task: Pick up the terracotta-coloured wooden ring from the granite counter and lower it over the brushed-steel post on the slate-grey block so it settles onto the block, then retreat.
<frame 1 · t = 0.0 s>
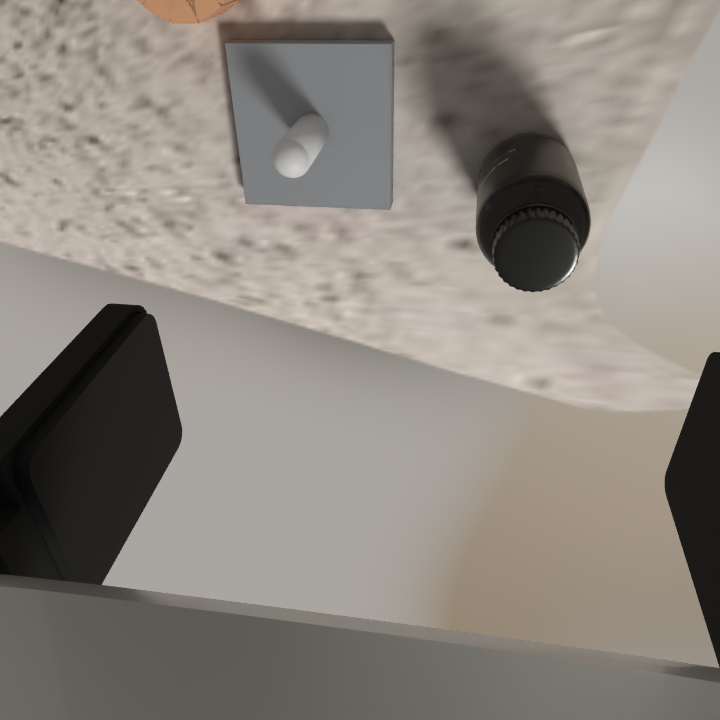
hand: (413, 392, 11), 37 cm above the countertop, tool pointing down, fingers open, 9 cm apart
post block: (316, 125, 45), on the countertop
supplement bottle: (525, 179, 45), on the countertop
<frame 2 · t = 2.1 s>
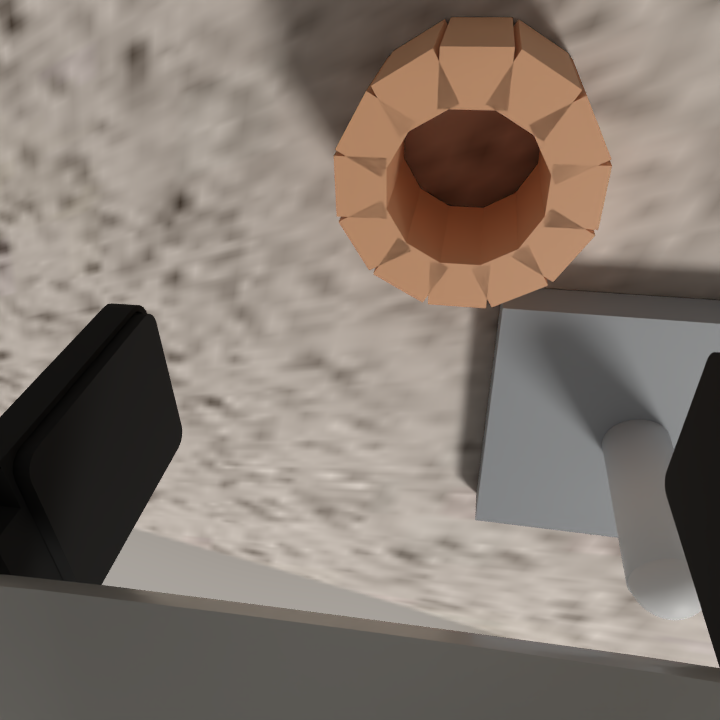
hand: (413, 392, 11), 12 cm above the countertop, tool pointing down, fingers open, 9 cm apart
post block: (629, 416, 25), on the countertop
ring: (471, 143, 20), on the countertop
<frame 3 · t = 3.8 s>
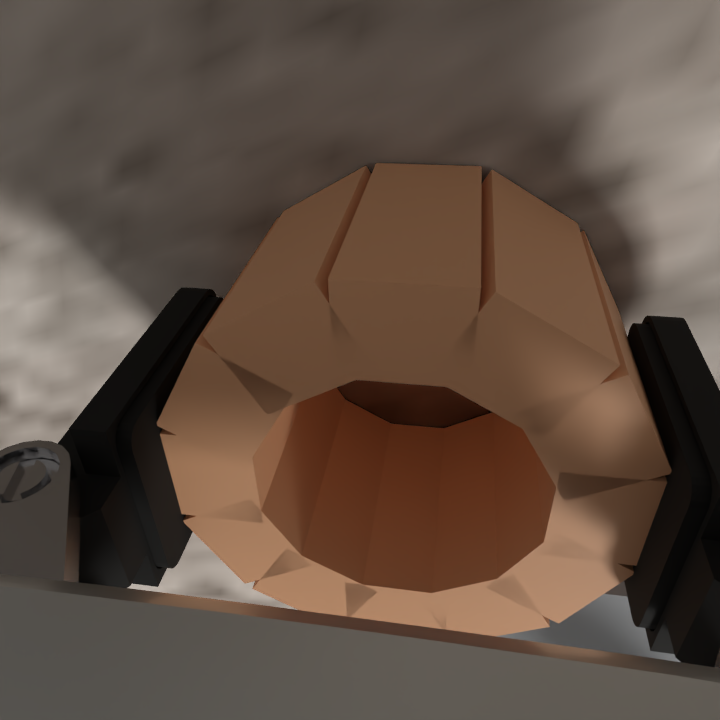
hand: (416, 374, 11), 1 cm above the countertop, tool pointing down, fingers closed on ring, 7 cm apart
post block: (663, 679, 17), on the countertop
ring: (420, 344, 12), on the countertop, touching gripper
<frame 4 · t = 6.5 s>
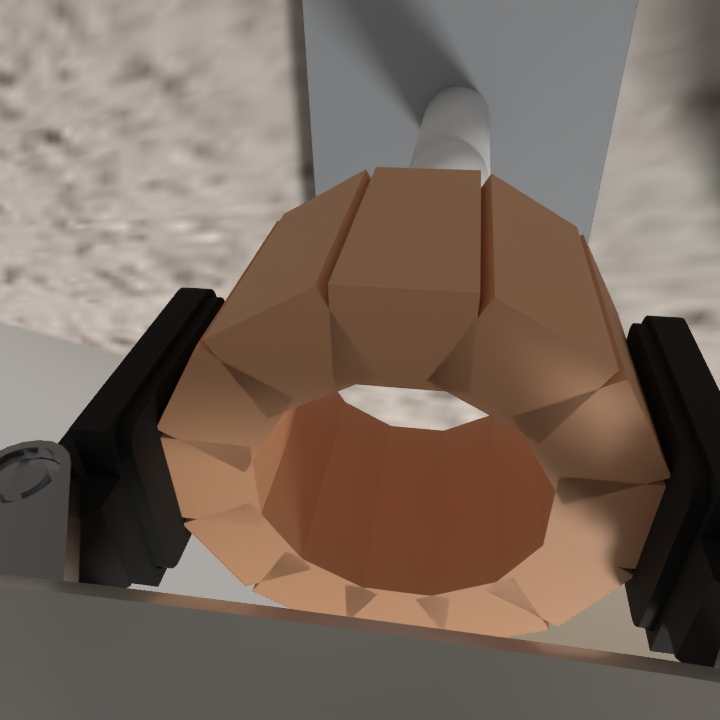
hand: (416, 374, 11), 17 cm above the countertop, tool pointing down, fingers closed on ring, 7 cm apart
post block: (457, 109, 24), on the countertop
ring: (420, 347, 12), point 16 cm above the countertop, touching gripper
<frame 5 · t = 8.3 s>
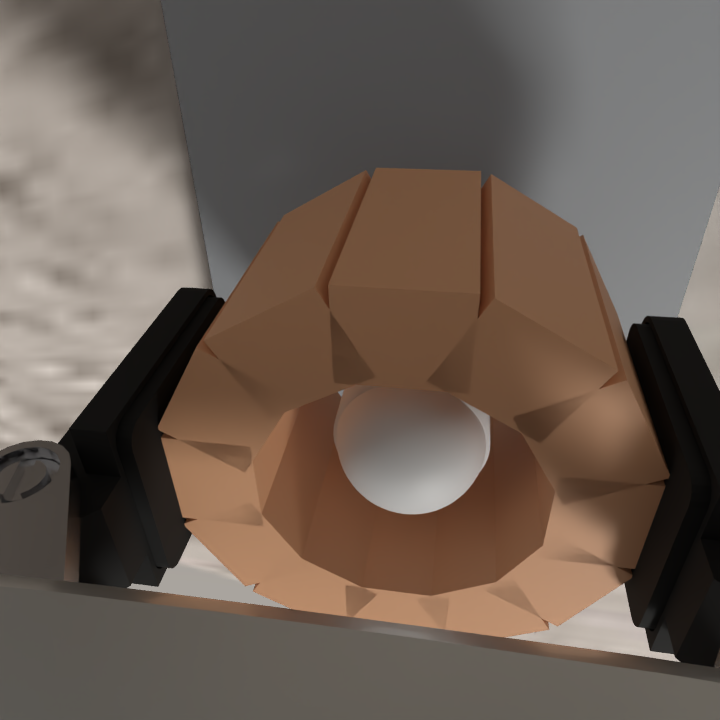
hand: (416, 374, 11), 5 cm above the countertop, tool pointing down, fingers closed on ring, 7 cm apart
post block: (439, 233, 16), on the countertop
ring: (420, 347, 12), point 4 cm above the countertop, touching gripper
when the fingers open (4 cm above the countertop, at t = 9.5 s): ring drops 2 cm, resting on post block.
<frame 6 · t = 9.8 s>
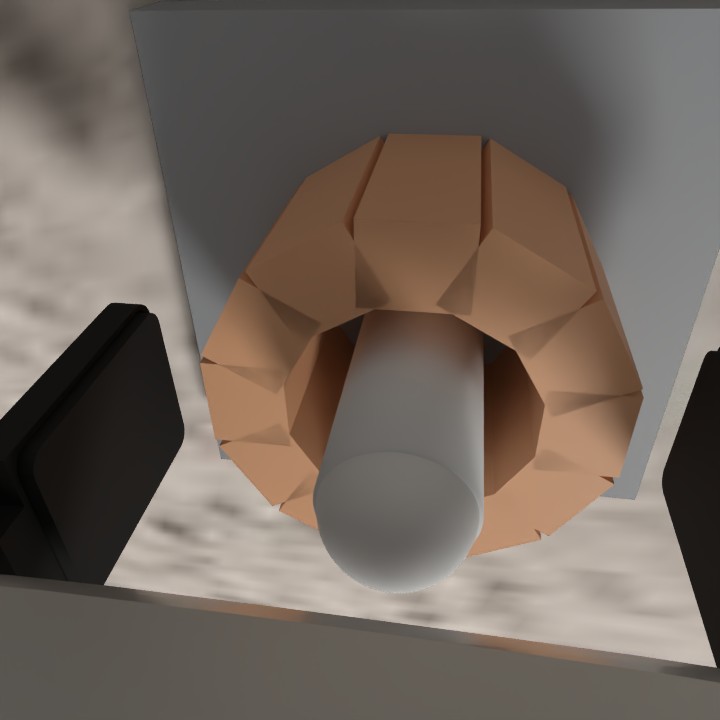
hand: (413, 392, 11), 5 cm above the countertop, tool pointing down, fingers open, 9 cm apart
post block: (431, 266, 15), on the countertop
ring: (426, 299, 14), point 1 cm above the countertop, touching post block
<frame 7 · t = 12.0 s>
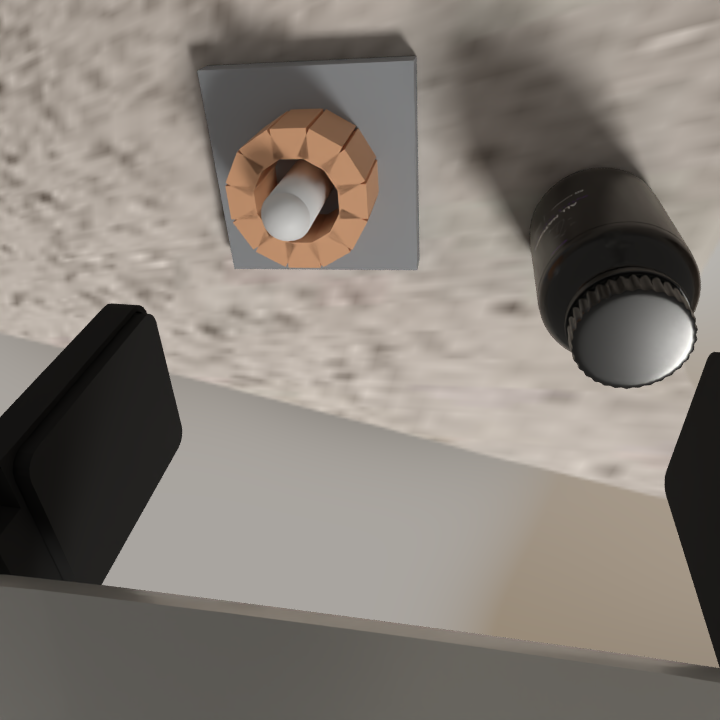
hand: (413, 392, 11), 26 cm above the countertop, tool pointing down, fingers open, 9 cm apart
post block: (319, 168, 35), on the countertop
ring: (314, 176, 34), point 1 cm above the countertop, touching post block
supplement bottle: (590, 225, 35), on the countertop
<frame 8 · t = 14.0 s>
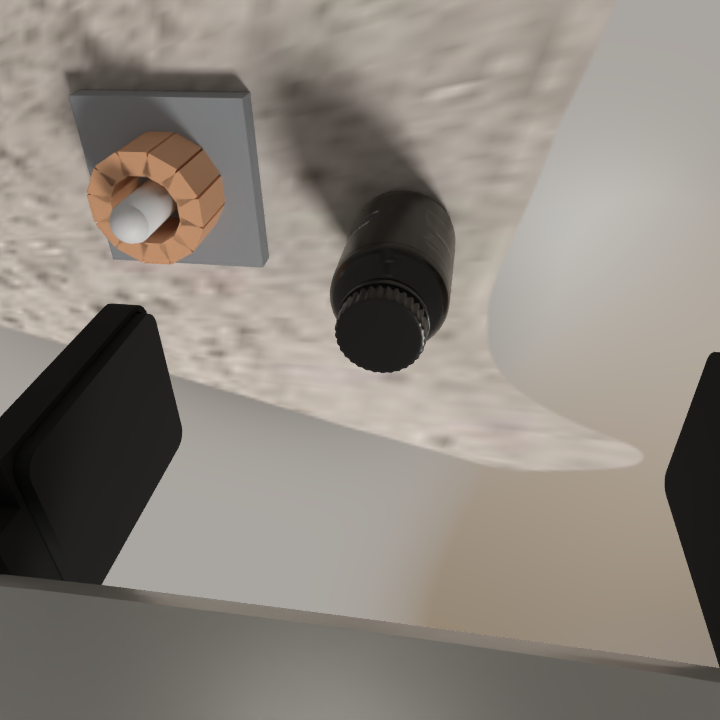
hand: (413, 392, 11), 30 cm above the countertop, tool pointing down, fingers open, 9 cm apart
post block: (180, 178, 42), on the countertop
ring: (171, 186, 41), point 1 cm above the countertop, touching post block
supplement bottle: (404, 236, 42), on the countertop
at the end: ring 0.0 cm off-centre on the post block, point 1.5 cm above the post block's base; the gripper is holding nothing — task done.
